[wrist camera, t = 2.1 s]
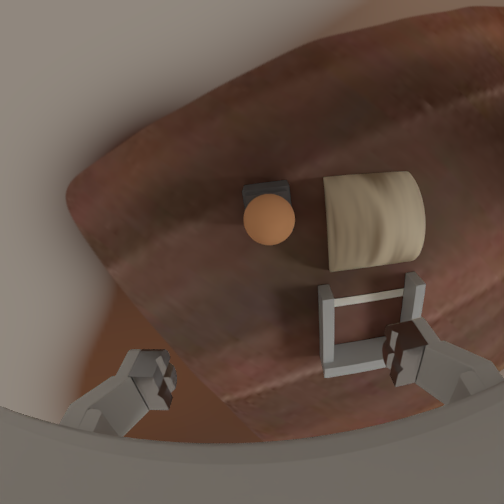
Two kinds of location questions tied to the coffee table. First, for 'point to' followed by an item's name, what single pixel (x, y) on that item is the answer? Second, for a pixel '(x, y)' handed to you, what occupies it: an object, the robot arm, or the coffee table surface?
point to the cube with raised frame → (266, 191)
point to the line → (368, 297)
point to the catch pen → (365, 351)
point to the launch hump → (373, 219)
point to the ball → (269, 219)
